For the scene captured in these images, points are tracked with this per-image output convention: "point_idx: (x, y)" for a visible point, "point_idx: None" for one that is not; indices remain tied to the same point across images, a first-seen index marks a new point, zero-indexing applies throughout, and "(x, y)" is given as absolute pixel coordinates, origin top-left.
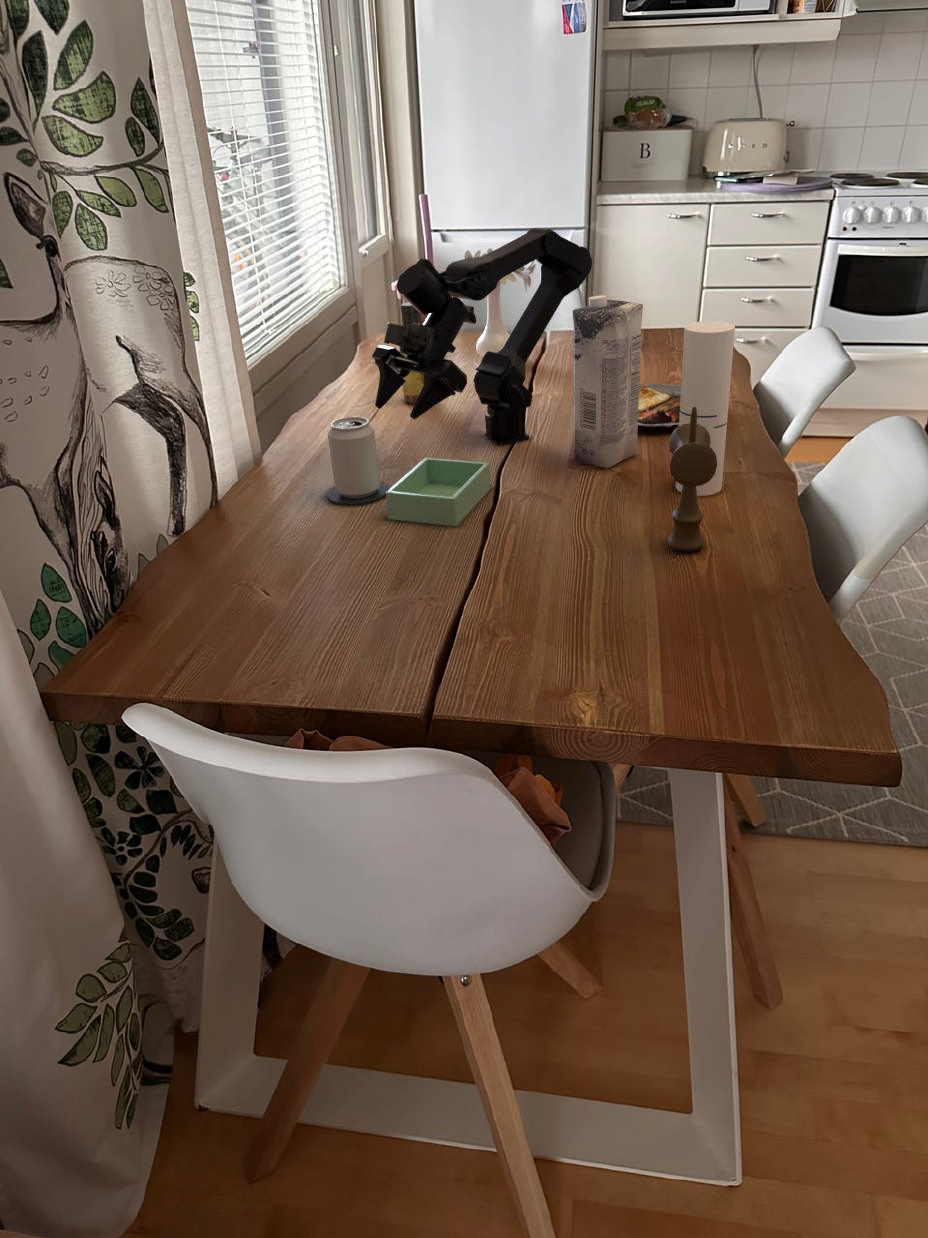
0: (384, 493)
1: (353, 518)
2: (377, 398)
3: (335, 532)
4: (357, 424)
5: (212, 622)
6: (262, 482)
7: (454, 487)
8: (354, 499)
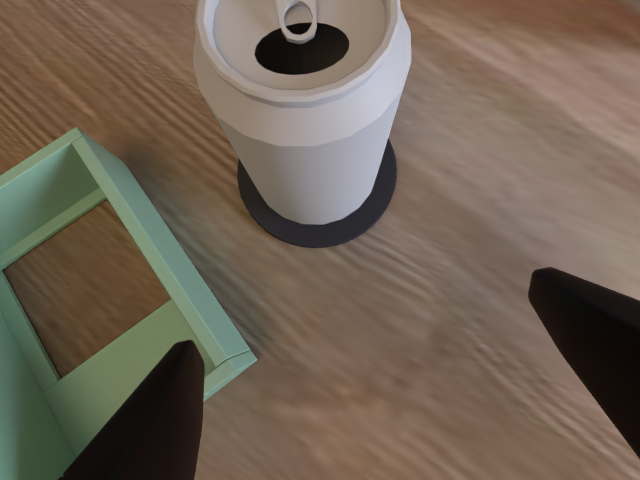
0: (256, 218)
1: (188, 105)
2: (586, 288)
3: (151, 50)
4: (385, 112)
5: None
6: (545, 22)
7: None
8: None
